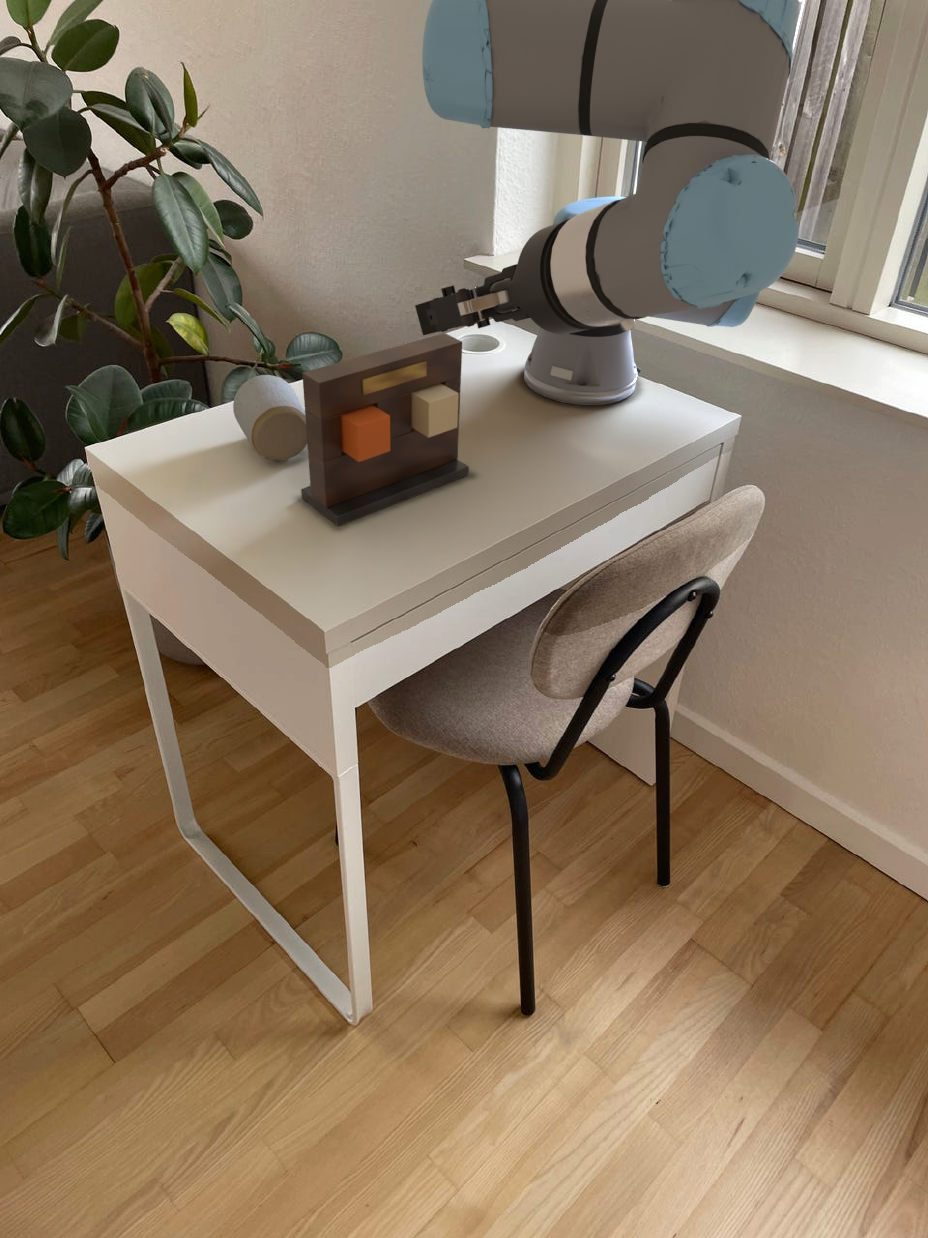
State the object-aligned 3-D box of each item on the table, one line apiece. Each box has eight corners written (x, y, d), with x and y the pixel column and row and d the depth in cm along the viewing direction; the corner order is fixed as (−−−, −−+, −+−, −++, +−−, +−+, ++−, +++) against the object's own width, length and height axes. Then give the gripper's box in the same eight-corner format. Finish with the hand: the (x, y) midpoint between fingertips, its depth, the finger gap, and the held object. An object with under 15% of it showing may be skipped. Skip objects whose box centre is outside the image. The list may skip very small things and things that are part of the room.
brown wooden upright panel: (430, 451, 111) (433, 326, 101) (468, 475, 107) (474, 347, 97) (301, 498, 101) (290, 365, 92) (337, 526, 97) (330, 390, 88)
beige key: (434, 414, 103) (435, 379, 101) (457, 427, 101) (458, 393, 98) (405, 423, 101) (405, 389, 98) (428, 437, 99) (429, 402, 96)
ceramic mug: (254, 470, 106) (248, 407, 101) (235, 438, 111) (229, 377, 107) (342, 455, 110) (341, 394, 105) (320, 425, 115) (318, 365, 110)
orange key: (367, 436, 98) (366, 401, 96) (390, 451, 96) (390, 415, 94) (336, 446, 96) (334, 411, 94) (358, 462, 94) (357, 426, 91)
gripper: (528, 350, 63) (376, 378, 83) (666, 305, 69) (493, 342, 89) (500, 234, 61) (351, 292, 81) (646, 198, 66) (473, 260, 86)
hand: (425, 318), depth 85 cm, fingers closed
